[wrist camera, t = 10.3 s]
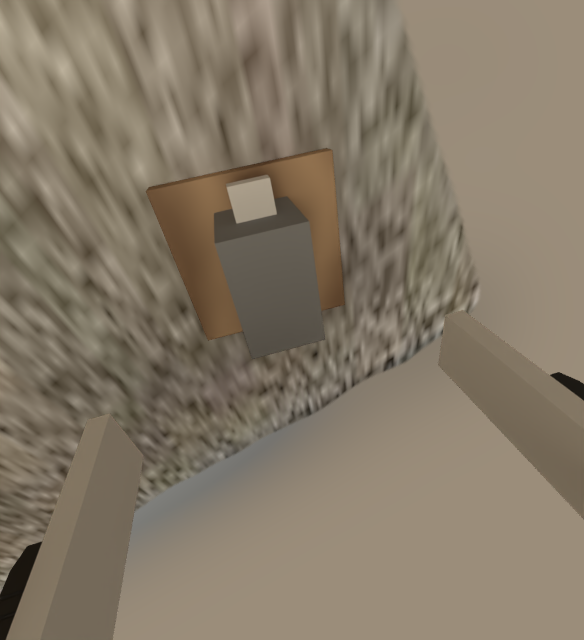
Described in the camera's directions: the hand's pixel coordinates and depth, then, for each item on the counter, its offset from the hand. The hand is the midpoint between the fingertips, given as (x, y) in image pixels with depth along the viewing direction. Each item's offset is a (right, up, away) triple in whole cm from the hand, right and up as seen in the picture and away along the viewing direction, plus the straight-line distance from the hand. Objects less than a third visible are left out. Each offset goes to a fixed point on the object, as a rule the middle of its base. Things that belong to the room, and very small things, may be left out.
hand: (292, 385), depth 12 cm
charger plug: (-2, +7, +11) cm, 13 cm away
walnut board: (-2, +8, +12) cm, 14 cm away
